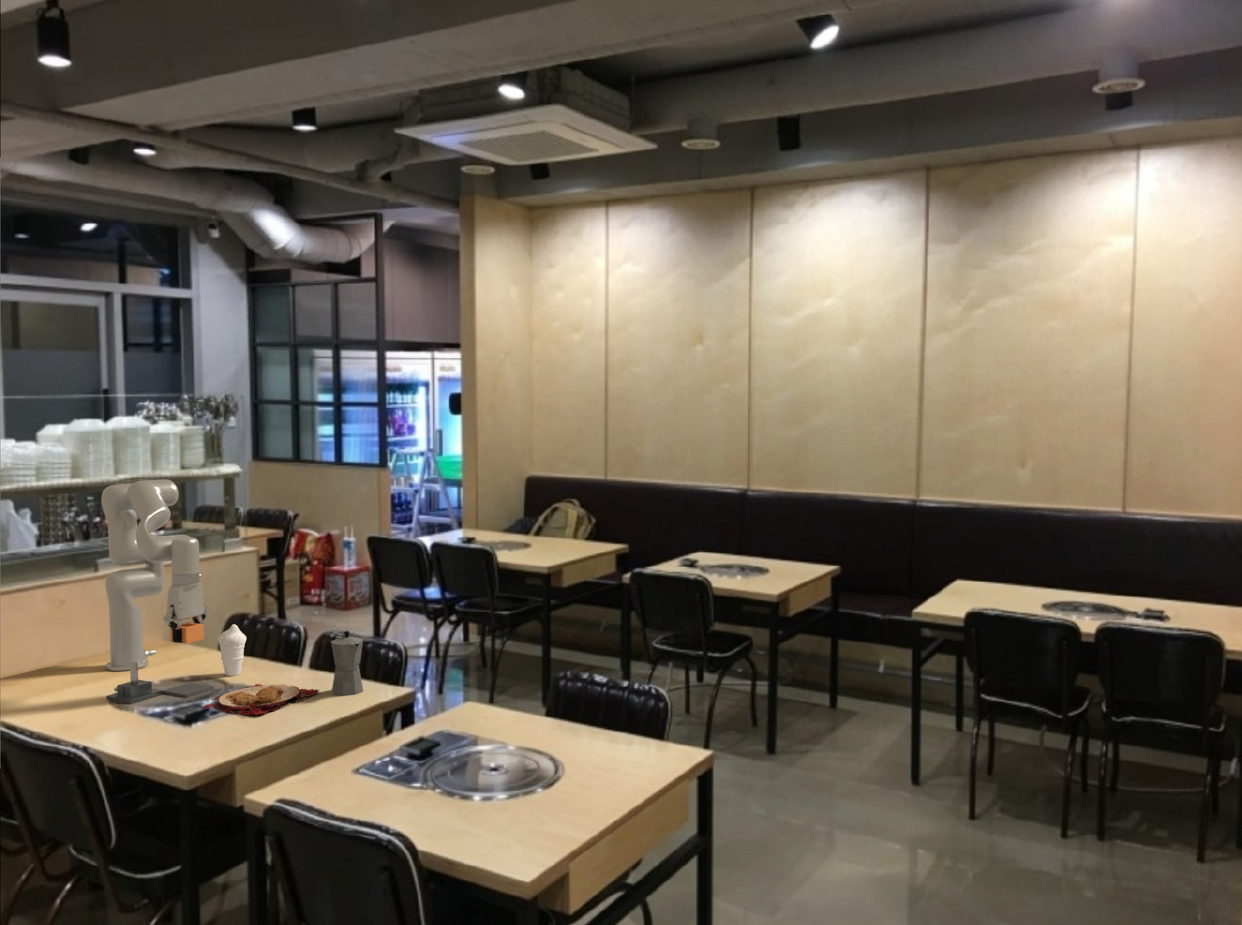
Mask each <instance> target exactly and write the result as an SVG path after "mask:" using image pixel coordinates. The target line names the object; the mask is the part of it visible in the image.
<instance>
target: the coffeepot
mask: <svg viewBox="0 0 1242 925" xmlns="http://www.w3.org/2000/svg"><path fill="white" fill-rule="evenodd" d="M350 632H351V631H349V630H345V631H343V634H344V637H343V636H340V635H337V634H336V635H333V636H332V637H331V640H330V642H331V649H332V655H333V662H334V665H335V670H334V674H333V681H332V686H331V688H332V689H331V692H332V694H333V695H335V696H354V695H358V694H361V693H362V692H364V688H363V687H364V686H363V681H362V677H361V676H362V675H361V671H360V663H361V659H362V651H363V650H362V649H363V642H364V640H363V639H362V638H360V637H359V638H358V637H352V636H350V634H351V633H350Z"/></svg>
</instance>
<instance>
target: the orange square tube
mask: <svg viewBox="0 0 1242 925" xmlns="http://www.w3.org/2000/svg"><path fill="white" fill-rule="evenodd" d="M204 627H205V624H204V623H203V624H198V623H194V622H184V623H183V622H182V624H181V627H180V629H182V643H181V644H190V643H194V642H198V641H202V640H205V628H204ZM169 629H170V643H171V642H172V643H174V642H173V633H172V629H171V628H170V627H169Z"/></svg>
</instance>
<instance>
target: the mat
mask: <svg viewBox="0 0 1242 925" xmlns="http://www.w3.org/2000/svg"><path fill="white" fill-rule="evenodd" d="M210 689H212V690H215V686H213V685H207V684H202V683H201V684H200V683H193V682H187V683H184V684H181V685H177V686H174V687H171V688H167V689H164V690H163V695H168V696H176V697H181V698H189V697H192V696H196V695H199V694H203V693H205V691H206V692H209V691H211V690H210ZM208 690H209V691H208ZM202 692H203V693H202Z"/></svg>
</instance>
